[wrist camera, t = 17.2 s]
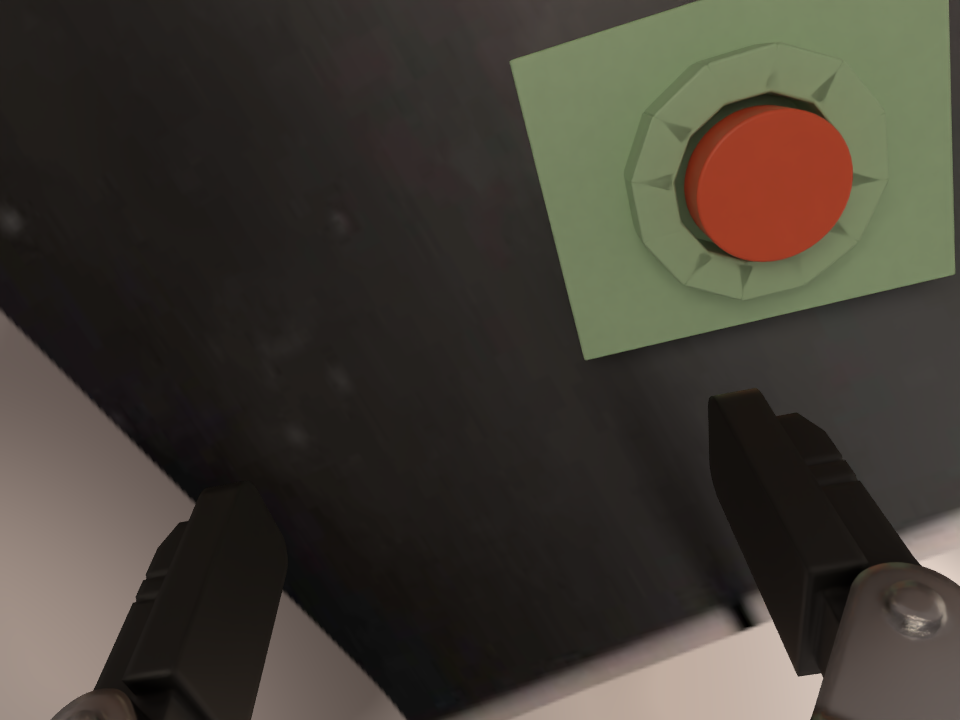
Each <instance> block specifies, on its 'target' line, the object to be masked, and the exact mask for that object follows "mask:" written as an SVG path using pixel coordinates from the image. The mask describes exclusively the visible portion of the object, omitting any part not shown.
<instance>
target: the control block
mask: <svg viewBox="0 0 960 720" xmlns="http://www.w3.org/2000/svg"><path fill="white" fill-rule="evenodd" d="M510 66H511V70H512V74H513V78H514V82H515V86H516V90H517V94H518V98H519V102H520V106H521V110H522V114H523V118H524V122H525V126H526V130H527V134H528V138H529V142H530V146H531V150H532V154H533V158H534V162H535V166H536V170H537V174H538V178H539V182H540V186H541V190H542V194H543V198H544V202H545V206H546V210H547V213H548V217H549V221H550V225H551V229H552V233H553V237H554V241H555V245H556V249H557V253H558V257H559V261H560V265H561V269H562V273H563V277H564V281H565V285H566V289H567V293H568V297H569V301H570V305H571V309H572V313H573V317H574V321H575V325H576V329H577V333H578V337H579V341H580V345H581V349H582V353H583V357H584V359H585V360H589V359H594V358H598V357H602V356H607V355H611V354H615V353H619V352H624V351H628V350H632V349H637V348H641V347H645V346H650V345H654V344H658V343H662V342H667V341H671V340H675V339H680V338H684V337H688V336H692V335H697V334H701V333H705V332H710V331H714V330H718V329H723V328H727V327H731V326H735V325H740V324H744V323H748V322H753V321H757V320H761V319H765V318H770V317H774V316H778V315H783V314H787V313H791V312H796V311H800V310H804V309H808V308H813V307H817V306H821V305H826V304H830V303H834V302H839V301H843V300H847V299H851V298H856V297H860V296H864V295H869V294H873V293H877V292H881V291H886V290H890V289H894V288H899V287H903V286H907V285H912V284H916V283H920V282H924V281H929V280H933V279H937V278H942V277H946V276H950V275H954V274H955V241H954V200H953V159H952V118H951V77H950V36H949V0H698V1H695V2H692V3H689V4H686V5H682V6H679V7H676V8H673V9H670V10H667V11H664V12H660V13H657V14H654V15H651V16H648V17H645V18H642V19H638V20H635V21H632V22H629V23H626V24H623V25H620V26H616V27H613V28H610V29H607V30H604V31H601V32H598V33H594V34H591V35H588V36H585V37H582V38H579V39H576V40H573V41H569V42H566V43H563V44H560V45H557V46H554V47H551V48H547V49H544V50H541V51H538V52H535V53H532V54H529V55H525V56H522V57H519V58H516V59H513V60H511V61H510ZM758 105H777V106H783V107H789V108H795V109H800V110H805V111H808V112H811V113H814V114H816V115H818V116H820V117H822V118H824V119H825V120H827V121H828V122H829V123H831V124H832V125H833V126H834V127H835V128H836V129H837V130H838V131H839V133H840V134H841V135H842V137H843V138H844V140H845V142H846V144H847V146H848V148H849V151H850V155H851V158H852V165H853V182H852V189H851V193H850V197H849V200H848V202H847V205H846V207H845V209H844V211H843V213H842V215H841V217H840V218H839V220H838V221H837V222H836V224H835V225H834V227H833V228H832V229H831V230H830V231H829V232H828V233H827V234H826V235H825V236H824V237H823V238H822V239H821V240H820V241H818V242H817V243H816V244H814V245H813V246H812V247H810V248H808V249H807V250H805V251H803V252H801V253H799V254H797V255H794V256H792V257H789V258H786V259H782V260H777V261H771V262H753V261H748V260H743V259H740V258H737V257H734V256H732V255H730V254H728V253H726V252H725V251H723V250H722V249H721V248H719V247H718V246H717V245H716V244H715V243H714V242H713V241H712V240H711V239H710V238H709V237H708V236H707V235H706V234H705V233H704V232H703V231H702V230H701V229H700V228H699V227H698V226H697V225H696V223H695V222H694V220H693V219H692V217H691V215H690V213H689V210H688V208H687V204H686V200H685V192H684V180H685V174H686V169H687V166H688V162H689V160H690V157H691V155H692V153H693V151H694V149H695V148H696V146H697V144H698V143H699V141H700V140H701V139H702V137H703V136H704V135H705V134H706V133H707V132H708V131H709V130H710V129H711V128H712V127H713V126H714V125H715V124H716V123H718V122H719V121H720V120H722V119H723V118H725V117H726V116H728V115H730V114H732V113H734V112H736V111H739V110H742V109H744V108H748V107H752V106H758Z"/></svg>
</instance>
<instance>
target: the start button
mask: <svg viewBox="0 0 960 720" xmlns="http://www.w3.org/2000/svg"><path fill="white" fill-rule="evenodd" d="M852 182H853V165H852V158H851V155H850V151H849V148H848V146H847V144H846V142H845V140H844V138H843V137H842V135H841V134H840V133H839V131H838V130H837V129H836V128H835V127H834V126H833V125H832V124H831V123H829V122H828V121H827V120H825V119H824V118H822V117H820V116H818V115H816V114H814V113H811V112H808V111H805V110H800V109H795V108H789V107H783V106H777V105H758V106H752V107H748V108H744V109H742V110H739V111H736V112H734V113H732V114H730V115H728V116H726V117H725V118H723V119H722V120H720V121H719V122H718V123H716V124H715V125H714V126H713V127H712V128H711V129H710V130H709V131H708V132H707V133H706V134H705V135H704V136H703V137H702V139H701V140H700V141H699V143H698V144H697V146H696V148H695V149H694V151H693V153H692V155H691V157H690V160H689V162H688V166H687V169H686V174H685V180H684V192H685V200H686V204H687V208H688V210H689V213H690V215H691V217H692V219H693V220H694V222H695V223H696V225H697V226H698V227H699V228H700V229H701V230H702V231H703V232H704V233H705V234H706V235H707V236H708V237H709V238H710V239H711V240H712V241H713V242H714V243H715V244H716V245H717V246H718V247H719V248H721V249H722V250H723V251H725V252H726V253H728V254H730V255H732V256H734V257H737V258H740V259H743V260H748V261H753V262H771V261H777V260H782V259H786V258H789V257H792V256H794V255H797V254H799V253H801V252H803V251H805V250H807V249H808V248H810V247H812V246H813V245H814V244H816V243H817V242H818V241H820V240H821V239H822V238H823V237H824V236H825V235H826V234H827V233H828V232H829V231H830V230H831V229H832V228H833V227H834V225H835V224H836V222H837V221H838V220H839V218H840V217H841V215H842V213H843V211H844V209H845V207H846V205H847V202H848V200H849V197H850V193H851V189H852Z"/></svg>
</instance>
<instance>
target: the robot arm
mask: <svg viewBox="0 0 960 720" xmlns="http://www.w3.org/2000/svg"><path fill="white" fill-rule="evenodd" d="M708 420H709V461H710V471H711V476H712V481H713V485H714V488H715V491H716V494H717V497H718V499H719V502H720V504H721V506H722V508H723V511H724V513H725V515H726V517H727V520H728V522H729V524H730V526H731V528H732V531H733V533H734V535H735V537H736V540H737V542H738V544H739V546H740V549H741V551H742V553H743V555H744V557H745V560H746V562H747V564H748V566H749V569H750V571H751V573H752V575H753V577H754V580H755V582H756V584H757V586H758V589H759V591H760V593H761V595H762V598H763V600H764V602H765V604H766V606H767V609H768V611H769V613H770V615H771V618H772V620H773V622H774V624H775V626H776V629H777V631H778V633H779V635H780V638H781V640H782V642H783V644H784V647H785V649H786V651H787V653H788V655H789V658H790V660H791V662H792V664H793V666H794V669H795V671H796V673H797V675H798V676H805V675H812V674H819V673H821V674H822V676H823V681H822V685H821V688H820V691H819V695H818V698H817V701H816V705H815V708H814V711H813V714H812V717H811V719H810V720H960V586H959V585H957V584H956V583H955V582H953V581H952V580H950V579H949V578H947V577H946V576H944V575H942V574H940V573H938V572H936V571H934V570H931V569H928V568H925V567H922V566H921V565H920V564H919V563H918V561H917V560H916V559H915V558H914V557H913V555H912V554H911V552H910V551H909V550H908V548H907V547H906V545H905V544H904V542H903V541H902V540H901V538H900V537H899V535H898V534H897V533H896V531H895V530H894V528H893V527H892V525H891V524H890V523H889V521H888V520H887V518H886V517H885V516H884V514H883V513H882V511H881V510H880V509H879V507H878V506H877V504H876V503H875V501H874V500H873V499H872V497H871V496H870V494H869V493H868V492H867V490H866V489H865V487H864V486H863V484H862V483H861V482H860V481H857V478H856V475H855V473H854V472H853V470H852V469H851V468H850V466H849V465H848V463H847V462H846V460H843V459H842V455H841V453H840V452H839V451H838V449H837V448H836V446H835V445H834V443H833V442H832V441H831V439H830V438H829V436H828V435H827V434H826V432H825V431H824V430H822V429H821V428H819V427H818V426H816V425H815V424H813V423H812V422H810V421H809V420H807V419H806V418H804V417H803V416H801V415H800V414H798V413H792V414H786V415H781V416H776V415H775V414H774V412H773V411H772V409H771V407H770V406H769V404H768V403H767V401H766V400H765V398H764V396H763V395H762V393H761V392H760V391H759V390H758V389H756V388H753V389H747V390H742V391H736V392H731V393H726V394H720V395H715V396H711V397H710V398H709V402H708ZM287 565H288V556H287V548H286V544H285V540H284V538H283V536H282V534H281V532H280V530H279V528H278V526H277V525H276V523H275V521H274V519H273V517H272V516H271V514H270V512H269V510H268V508H267V507H266V505H265V503H264V501H263V499H262V498H261V496H260V494H259V492H258V491H257V489H256V487H255V486H254V485H253V483H251V482H250V481H241V482H236V483H230V484H225V485H220V486H214V487H209V488H206V489H204V490H203V491H202V492H201V493H200V495H199V498H198V500H197V502H196V505H195V507H194V509H193V512H192V514H191V517H190V519H189V521H186V522H180V523H179V524H178V525H177V526H176V527H175V528H174V530H173V531H172V532H171V533H170V534H169V536H168V537H167V538H166V539H165V540H164V541H163V542H162V544H161V545H160V546H159V547H158V549H157V551H156V553H155V555H154V557H153V560H152V562H151V564H150V566H149V569H148V571H147V573H146V580H143V582H142V584H141V586H140V589H139V591H138V593H137V595H136V602H135V603H133V604H132V606H131V609H130V611H129V613H128V615H127V617H126V620H125V622H124V624H123V626H122V628H121V631H120V633H119V635H118V637H117V640H116V642H115V644H114V646H113V649H112V651H111V653H110V655H109V657H108V660H107V662H106V664H105V666H104V669H103V671H102V673H101V675H100V677H99V680H98V682H97V684H96V686H95V688H94V690H93V691H91V692H89V693H86V694H84V695H82V696H80V697H78V698H77V699H75V700H73V701H72V702H70V703H69V704H68V705H66V706H65V707H64V708H63V709H61V710H60V711H59V712H58V713H57V714H56V715H55V716H54V717H53V718H52V719H51V720H251V717H252V713H253V708H254V705H255V700H256V696H257V692H258V688H259V683H260V680H261V675H262V672H263V668H264V663H265V659H266V655H267V651H268V647H269V643H270V639H271V635H272V630H273V626H274V622H275V618H276V614H277V610H278V606H279V602H280V597H281V593H282V589H283V585H284V581H285V577H286V573H287Z"/></svg>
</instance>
